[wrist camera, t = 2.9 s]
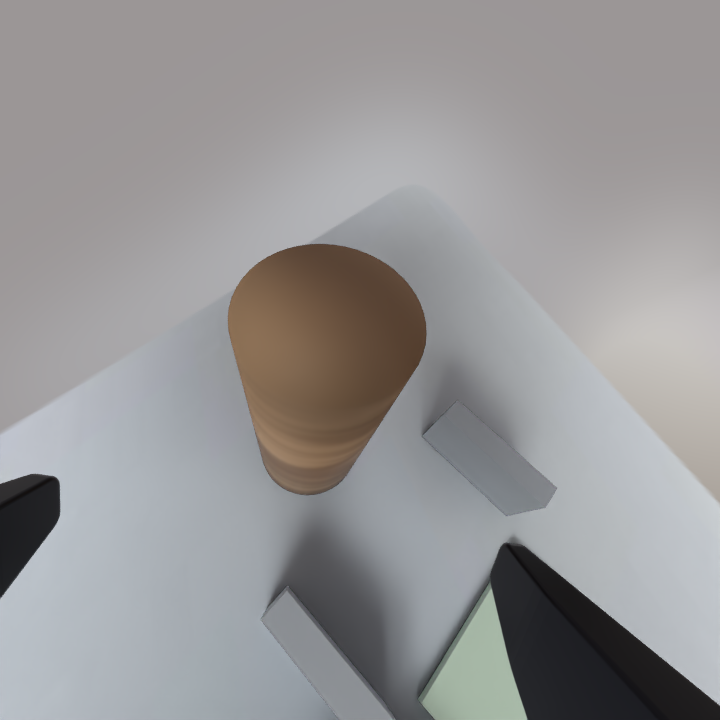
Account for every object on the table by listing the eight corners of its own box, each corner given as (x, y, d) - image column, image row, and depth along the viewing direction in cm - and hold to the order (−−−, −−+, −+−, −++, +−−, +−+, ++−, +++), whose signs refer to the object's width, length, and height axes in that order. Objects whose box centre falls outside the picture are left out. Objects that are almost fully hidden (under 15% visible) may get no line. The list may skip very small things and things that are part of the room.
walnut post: (306, 517, 18) (329, 456, 8) (241, 444, 19) (183, 304, 9) (374, 447, 20) (462, 326, 10) (312, 386, 21) (333, 219, 11)
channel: (365, 732, 14) (384, 777, 11) (266, 609, 16) (260, 619, 13) (517, 499, 20) (557, 488, 17) (434, 422, 21) (457, 399, 18)
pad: (580, 890, 13) (590, 900, 13) (417, 699, 15) (421, 703, 15) (650, 679, 17) (660, 682, 17) (512, 545, 19) (517, 545, 18)
